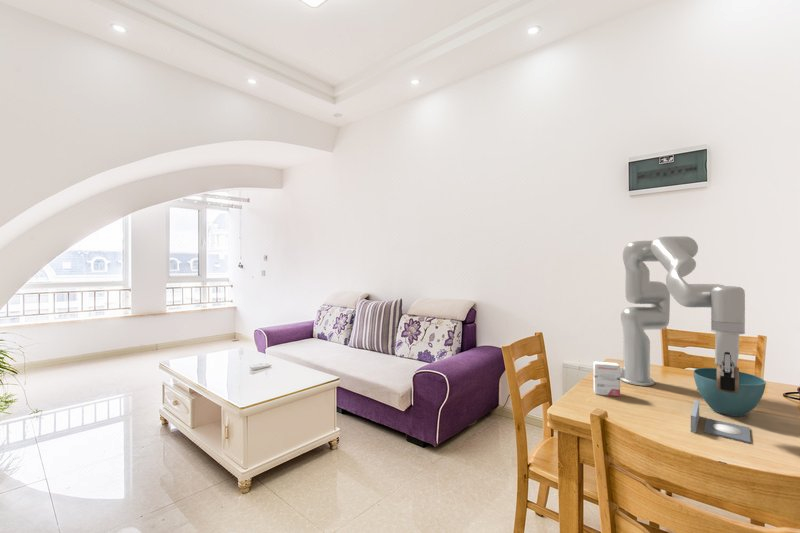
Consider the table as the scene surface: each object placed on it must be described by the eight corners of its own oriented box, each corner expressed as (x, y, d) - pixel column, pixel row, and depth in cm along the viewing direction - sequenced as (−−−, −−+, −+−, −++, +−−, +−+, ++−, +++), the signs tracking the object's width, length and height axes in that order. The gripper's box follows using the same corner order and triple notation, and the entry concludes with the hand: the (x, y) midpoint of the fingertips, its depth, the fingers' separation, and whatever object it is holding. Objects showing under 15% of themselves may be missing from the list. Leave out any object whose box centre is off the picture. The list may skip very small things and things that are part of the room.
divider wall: (690, 431, 110) (690, 415, 110) (694, 415, 122) (694, 400, 122) (695, 433, 109) (695, 416, 109) (699, 416, 121) (699, 400, 121)
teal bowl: (773, 428, 112) (774, 388, 112) (697, 415, 122) (697, 378, 121) (756, 407, 127) (756, 372, 127) (689, 397, 137) (689, 365, 137)
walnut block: (716, 390, 110) (716, 367, 110) (716, 386, 114) (716, 363, 114) (739, 394, 107) (739, 370, 107) (738, 389, 110) (738, 366, 110)
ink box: (617, 392, 143) (617, 362, 143) (620, 397, 138) (620, 365, 138) (592, 390, 146) (592, 360, 146) (595, 394, 141) (595, 363, 141)
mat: (704, 432, 109) (704, 430, 109) (706, 419, 118) (706, 417, 118) (750, 443, 103) (750, 441, 103) (749, 429, 112) (749, 427, 112)
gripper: (712, 322, 119) (712, 378, 119) (710, 329, 106) (710, 392, 106) (744, 324, 114) (744, 383, 114) (745, 333, 101) (745, 398, 101)
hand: (727, 387), depth 110 cm, fingers closed on walnut block, 5 cm apart
